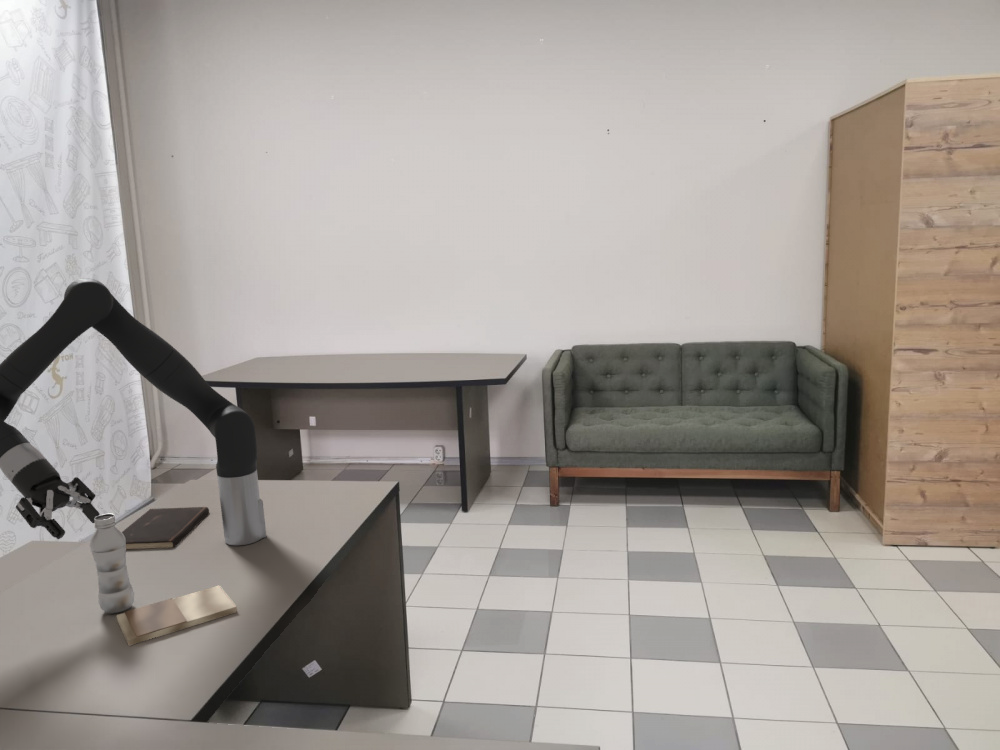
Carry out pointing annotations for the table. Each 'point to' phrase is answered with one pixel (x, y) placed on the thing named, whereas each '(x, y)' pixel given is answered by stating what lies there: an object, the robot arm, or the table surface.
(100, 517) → the plastic bottle
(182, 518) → the hardcover book
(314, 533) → the table surface
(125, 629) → the board
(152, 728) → the table surface
